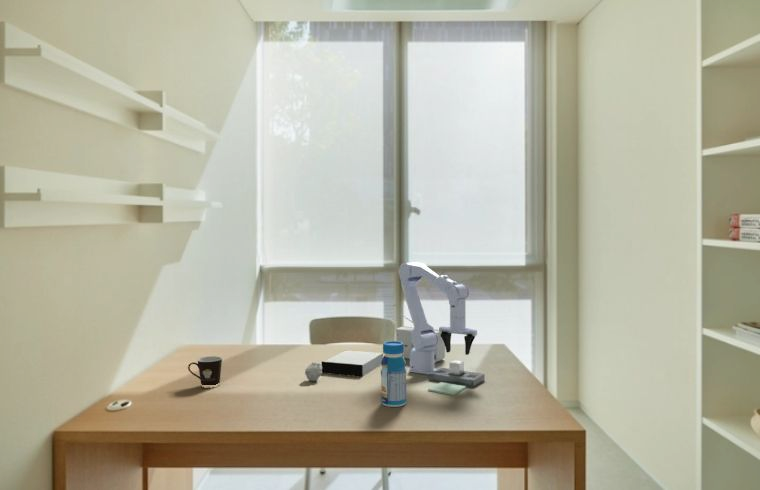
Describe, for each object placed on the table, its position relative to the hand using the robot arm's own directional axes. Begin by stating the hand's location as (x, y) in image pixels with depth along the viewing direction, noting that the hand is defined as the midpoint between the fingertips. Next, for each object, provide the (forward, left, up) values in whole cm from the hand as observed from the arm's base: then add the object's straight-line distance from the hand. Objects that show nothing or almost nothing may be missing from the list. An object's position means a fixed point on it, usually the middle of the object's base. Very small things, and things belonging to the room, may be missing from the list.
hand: (457, 353), depth 209 cm
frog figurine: (-46, -28, -11) cm, 55 cm away
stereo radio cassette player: (-28, +22, -11) cm, 37 cm away
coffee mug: (-76, -53, -11) cm, 94 cm away
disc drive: (-44, -5, -11) cm, 46 cm away
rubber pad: (+2, -12, -10) cm, 16 cm away
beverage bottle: (-6, -35, -11) cm, 37 cm away
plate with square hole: (0, 0, -10) cm, 10 cm away
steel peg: (0, 0, -10) cm, 10 cm away
